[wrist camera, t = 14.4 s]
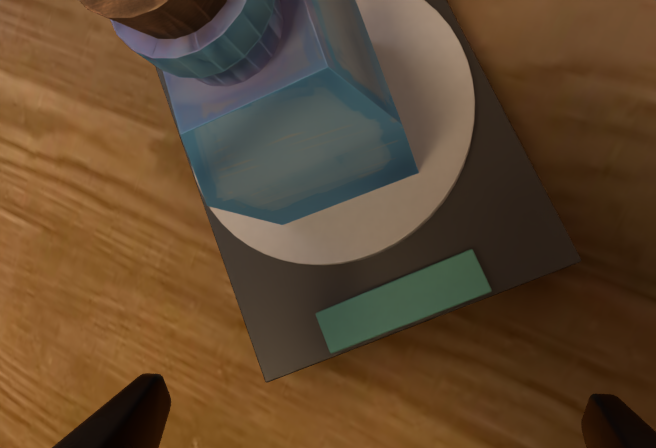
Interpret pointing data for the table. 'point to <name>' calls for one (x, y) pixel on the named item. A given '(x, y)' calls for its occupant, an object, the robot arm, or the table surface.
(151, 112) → the table surface
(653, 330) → the table surface
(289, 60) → the perfume bottle
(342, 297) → the kitchen scale
